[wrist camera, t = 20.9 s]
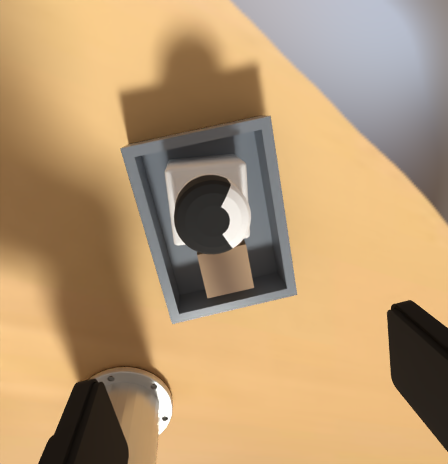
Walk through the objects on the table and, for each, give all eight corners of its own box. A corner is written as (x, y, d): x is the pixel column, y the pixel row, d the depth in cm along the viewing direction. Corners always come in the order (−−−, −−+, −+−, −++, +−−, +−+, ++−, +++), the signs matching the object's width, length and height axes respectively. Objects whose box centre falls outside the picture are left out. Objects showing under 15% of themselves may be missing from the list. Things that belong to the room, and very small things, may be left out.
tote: (284, 274, 43) (297, 294, 38) (173, 300, 43) (172, 324, 38) (259, 115, 37) (270, 116, 32) (128, 144, 36) (120, 148, 32)
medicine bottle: (176, 224, 39) (172, 269, 27) (167, 159, 36) (159, 179, 25) (239, 217, 39) (261, 259, 28) (235, 153, 37) (257, 169, 26)
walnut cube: (238, 229, 40) (246, 244, 35) (246, 268, 41) (254, 287, 37) (195, 238, 40) (197, 255, 35) (204, 277, 41) (207, 298, 36)
